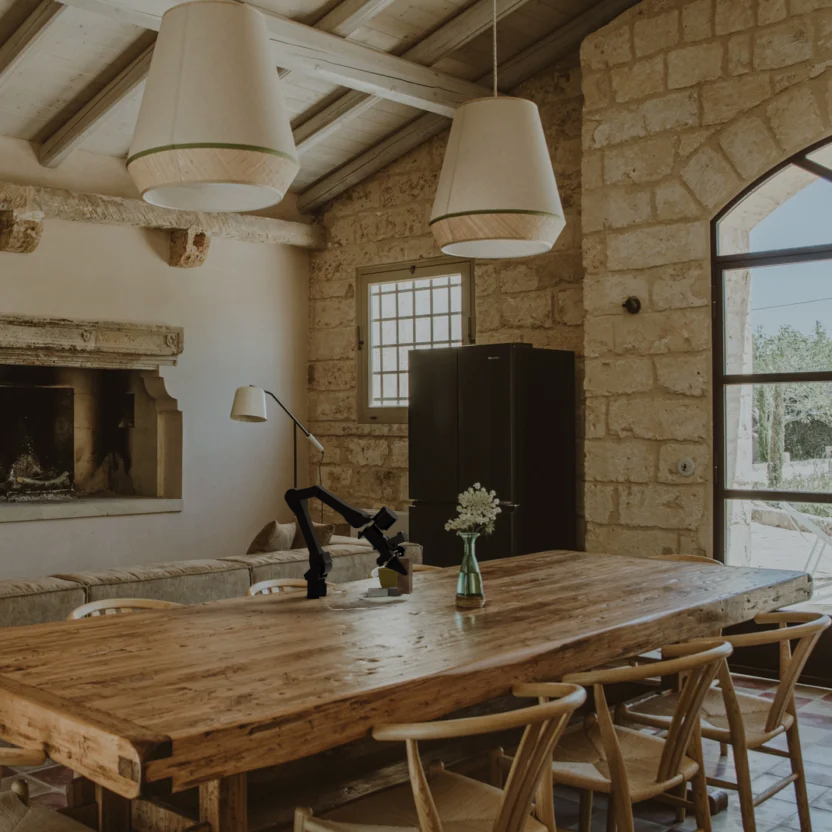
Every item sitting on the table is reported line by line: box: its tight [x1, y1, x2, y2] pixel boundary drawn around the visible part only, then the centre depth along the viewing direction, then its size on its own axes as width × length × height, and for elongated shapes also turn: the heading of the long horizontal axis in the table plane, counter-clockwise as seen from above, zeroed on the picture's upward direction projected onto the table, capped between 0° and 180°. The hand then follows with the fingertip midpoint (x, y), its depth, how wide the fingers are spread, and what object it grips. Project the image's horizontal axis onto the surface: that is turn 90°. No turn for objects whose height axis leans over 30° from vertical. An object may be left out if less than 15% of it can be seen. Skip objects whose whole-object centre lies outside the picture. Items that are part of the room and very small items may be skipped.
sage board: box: [367, 594, 412, 603], centre depth 346 cm, size 14×16×1 cm
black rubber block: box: [387, 587, 403, 596], centre depth 351 cm, size 5×4×2 cm
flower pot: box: [377, 566, 397, 588], centre depth 360 cm, size 9×9×9 cm
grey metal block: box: [367, 587, 388, 597], centre depth 350 cm, size 6×4×2 cm, turn 106°
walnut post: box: [397, 556, 414, 595], centre depth 341 cm, size 4×4×12 cm
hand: (408, 573), depth 341 cm, fingers closed on walnut post, 4 cm apart
